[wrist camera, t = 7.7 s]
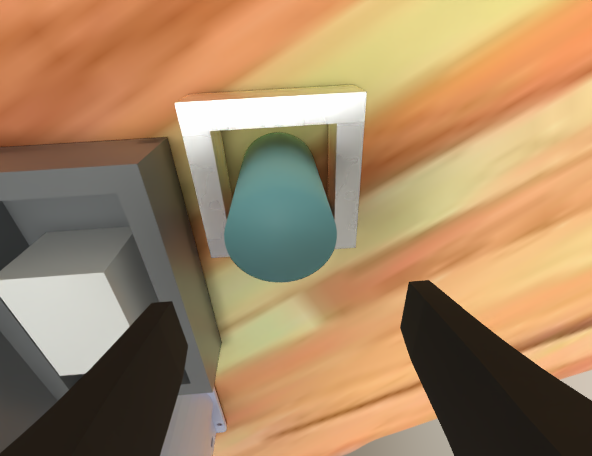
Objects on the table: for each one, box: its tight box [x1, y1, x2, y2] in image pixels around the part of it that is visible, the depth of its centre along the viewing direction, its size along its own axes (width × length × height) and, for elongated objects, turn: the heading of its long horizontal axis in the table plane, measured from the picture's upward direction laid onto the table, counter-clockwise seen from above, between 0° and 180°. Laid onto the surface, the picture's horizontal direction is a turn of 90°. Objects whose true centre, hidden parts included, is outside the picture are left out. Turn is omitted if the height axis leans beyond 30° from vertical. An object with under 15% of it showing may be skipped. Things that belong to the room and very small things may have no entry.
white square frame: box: [175, 85, 367, 258], centre depth 16 cm, size 8×8×2 cm
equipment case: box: [0, 137, 222, 453], centre depth 14 cm, size 16×11×14 cm
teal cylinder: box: [224, 133, 337, 282], centre depth 14 cm, size 4×4×7 cm
